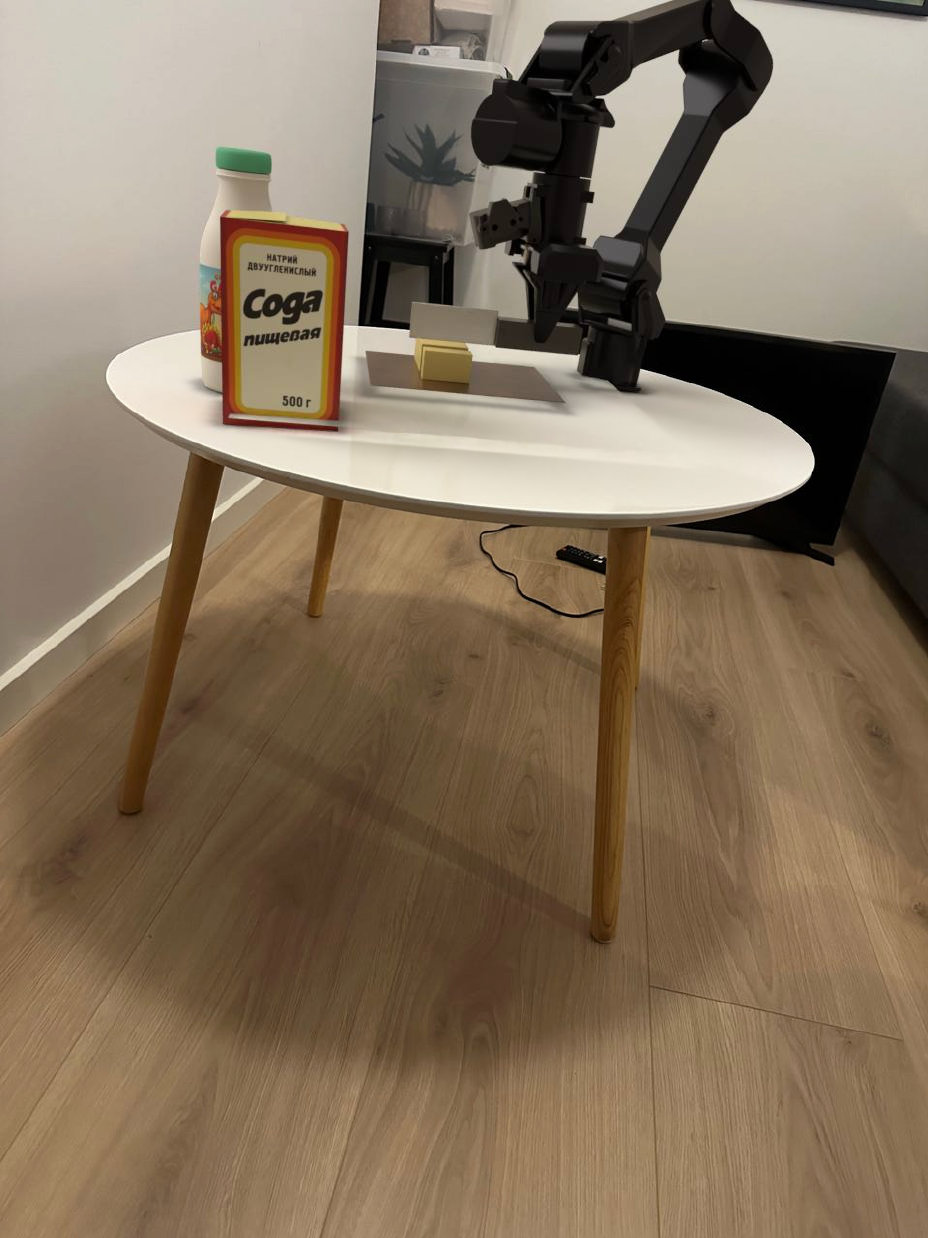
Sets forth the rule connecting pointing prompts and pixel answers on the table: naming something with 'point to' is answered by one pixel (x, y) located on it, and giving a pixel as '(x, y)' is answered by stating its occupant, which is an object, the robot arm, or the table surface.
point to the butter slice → (446, 365)
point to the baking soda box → (282, 317)
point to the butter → (436, 344)
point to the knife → (488, 329)
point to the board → (482, 382)
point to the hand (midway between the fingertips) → (536, 339)
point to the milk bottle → (240, 191)
